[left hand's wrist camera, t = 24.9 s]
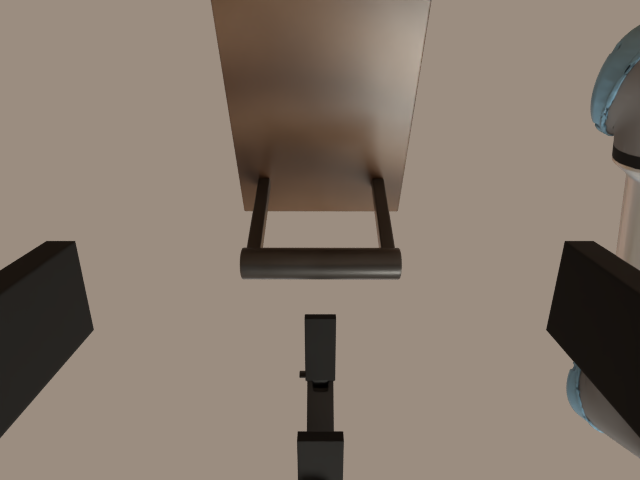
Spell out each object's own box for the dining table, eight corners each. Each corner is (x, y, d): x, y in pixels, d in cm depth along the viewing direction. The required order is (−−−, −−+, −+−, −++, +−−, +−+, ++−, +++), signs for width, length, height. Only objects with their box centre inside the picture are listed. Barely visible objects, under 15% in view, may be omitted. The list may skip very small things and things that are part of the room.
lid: (396, 201, 29) (414, 304, 23) (246, 200, 29) (227, 304, 23) (441, -96, 18) (498, -42, 12) (201, -96, 18) (142, -42, 12)
